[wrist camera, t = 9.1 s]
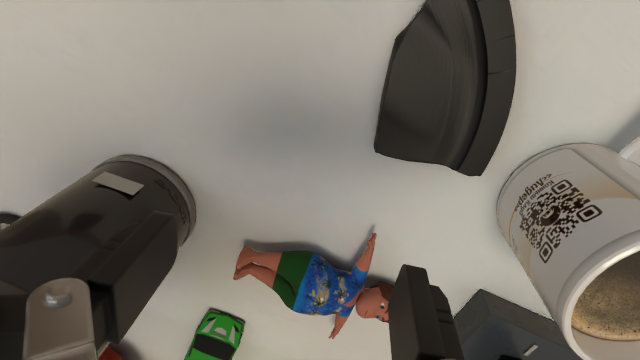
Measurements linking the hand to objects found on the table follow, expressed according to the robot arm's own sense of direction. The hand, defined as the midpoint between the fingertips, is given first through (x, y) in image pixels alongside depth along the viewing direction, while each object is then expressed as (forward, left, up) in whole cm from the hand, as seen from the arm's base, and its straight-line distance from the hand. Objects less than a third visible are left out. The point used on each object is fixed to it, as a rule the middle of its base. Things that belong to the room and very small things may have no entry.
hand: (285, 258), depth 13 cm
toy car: (-21, -18, -16) cm, 32 cm away
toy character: (-6, -13, -16) cm, 21 cm away
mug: (+15, -12, -16) cm, 26 cm away
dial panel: (+5, -27, -16) cm, 32 cm away
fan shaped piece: (+9, -1, -16) cm, 19 cm away
